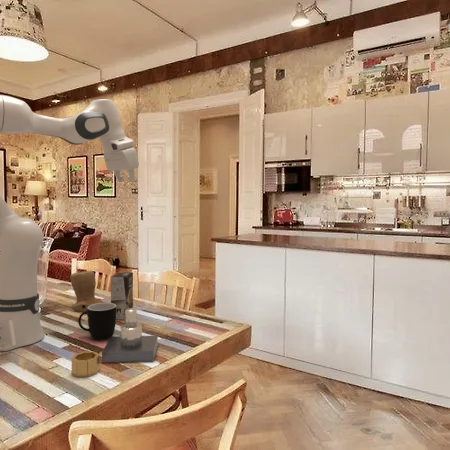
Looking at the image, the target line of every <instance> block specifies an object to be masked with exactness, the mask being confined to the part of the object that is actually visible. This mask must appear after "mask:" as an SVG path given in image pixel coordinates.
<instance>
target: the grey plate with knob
mask: <svg viewBox="0 0 450 450" xmlns="http://www.w3.org/2000/svg"><path fill="white" fill-rule="evenodd" d="M124 321H125V323H124V324H122V325H121V326H120V336H119V335H118V336H117V335H115V336H114V335H113V336H111V338H110V339H108V341H107V343H106V344H105V346H104V348H103V350H102V351H101V363H102V364H104V363H105V364H106V363H107V364H109V363H111V364H113V363H114V364H115V363H144V362H146V363H149V362H150V363H151V362H152V363H153V362H154V361H155V357H156V353H157V350H158V345H159V344H158V343H159V341H158V337H159V335H143V328H142V327H143V326H142V324H140V323H138V310H137V308H135V307H133V308H128V309H126V310H125V320H124Z"/></svg>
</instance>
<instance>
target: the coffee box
mask: <svg viewBox="0 0 450 450" xmlns="http://www.w3.org/2000/svg"><path fill="white" fill-rule="evenodd" d="M110 303H113V304H115V305H116V320H120V321H121V320H124V321H125V310H126V309H128V308H134V272H117V273H114V274H113V275H112V276H110Z"/></svg>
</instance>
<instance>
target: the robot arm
mask: <svg viewBox="0 0 450 450" xmlns="http://www.w3.org/2000/svg"><path fill="white" fill-rule="evenodd" d="M0 134H9V135H10V134H11V135H12V134H15V135H18V134H19V135H20V134H38V135H43V136H50V137H55V138H59V139H61V140H63V141H64V142H66V143H68V144H70V145H74V146H77V145H78V146H79V145H82V144H84V143H87V142H88V143H89V142H91V141H95V140H97V139H98V138H100V142H101V145H102V149H103V151H104V152H103V158H104V162H105V166H106V170H107V171H108V172H113V174H114V177H116V180H117V182H118V183H123V182H124V181H125V180H124V176H123V175H122V174H121V171H126V172H127V174H128V178H127V179H128V182H129V183H134V182H136V177H135V173H136V172H135V171H136V170H135V169H138V168H139V166H140V162H139V159H138V155H137V150H136V148H135V147H134V146H135V142H134V140H133V139H132V138H130V137H128V136H126V133H125V130H124V129H123V125H122V118H121V115H120V112H119V110H118V108H117V105H116V103H115V102H114V101H113V100H112V99H111V98H107V97H106V98H103V97H102V98H96V99H92V100H91V102H90V103H89V104H88V106H87V107H85V108H84V109H83V110H82V111H80V112H78V113H77V114H73V115H69V116H67V117H63V118H59V117H58V118H57V117H52V116H48V115H42V114H38V113H35V112H34V111H32V108H31V107H30V106H29V104H27V103H26V101H24V100H22V99H19V98H16V97H13V96H11V95H6V94H5V95H4V94H0ZM43 242H44V232H43V230H42V228H41V227H40V226H39V224H38V223H36V222H35V221H34V220H33V219H30V218H28V217H23V216H20V215H19V214H17V212H15V211H14V209H12V207H11V206H10V205H9V204H8V203H7V202H6V201H5V199H4V198H3V197H2V196H1V195H0V352H1V351H2V352H3V351H4V352H6V351H7V352H8V351H11V350H14V349H16V348H21V347H25V346H28V345H29V346H30V345H32V344H35V343H37V342H39V341H41V340H43V339H44V337H45V333H44V331H43V327H42V323H41V318H40V313H39V312H40V306H41V303H40V302H41V301H40V294H39V292H38V265H39V264H38V263H39V258H40V251H41V246H42V244H43Z"/></svg>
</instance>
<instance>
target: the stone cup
mask: <svg viewBox="0 0 450 450" xmlns="http://www.w3.org/2000/svg"><path fill="white" fill-rule="evenodd" d="M70 284H71V287H72V289H73V292H74V294H75V297H76V301H75V303H74V304H73V307H72V309H73V310H76V311H78V312H81V313H84V312H86V311H87V307H88V306H90V305H92V304H97V303H102V302H103V300H102V298H97V297H96V296H95V293H96V291H95V290H96V285H97V283H96V275H95V272H94V271H93V270H86V271H79V272H78V271H77V272H73V273H71V275H70Z"/></svg>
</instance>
